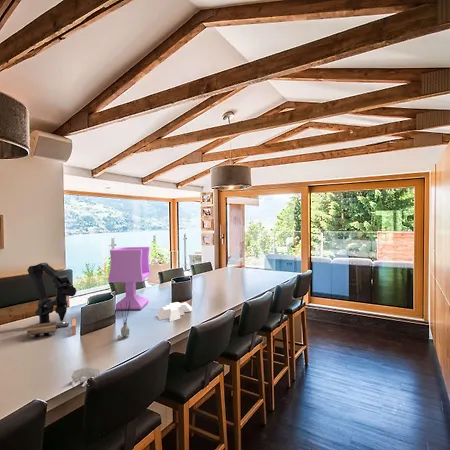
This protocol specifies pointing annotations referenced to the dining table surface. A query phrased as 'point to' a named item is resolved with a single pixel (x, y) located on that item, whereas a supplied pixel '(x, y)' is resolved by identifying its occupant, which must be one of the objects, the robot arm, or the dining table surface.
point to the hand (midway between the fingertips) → (61, 319)
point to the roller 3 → (62, 324)
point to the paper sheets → (173, 311)
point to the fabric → (83, 375)
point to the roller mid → (41, 334)
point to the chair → (130, 273)
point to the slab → (41, 328)
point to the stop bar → (74, 326)
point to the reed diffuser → (124, 325)
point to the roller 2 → (50, 333)
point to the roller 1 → (32, 335)
